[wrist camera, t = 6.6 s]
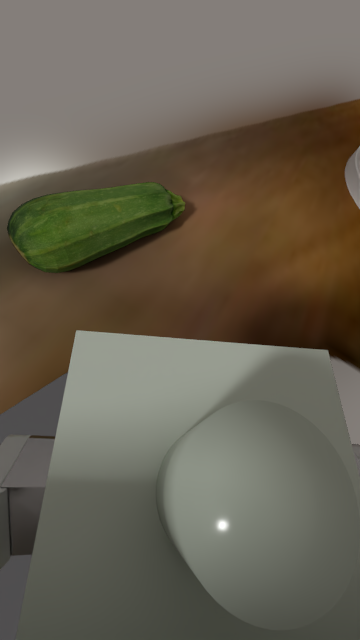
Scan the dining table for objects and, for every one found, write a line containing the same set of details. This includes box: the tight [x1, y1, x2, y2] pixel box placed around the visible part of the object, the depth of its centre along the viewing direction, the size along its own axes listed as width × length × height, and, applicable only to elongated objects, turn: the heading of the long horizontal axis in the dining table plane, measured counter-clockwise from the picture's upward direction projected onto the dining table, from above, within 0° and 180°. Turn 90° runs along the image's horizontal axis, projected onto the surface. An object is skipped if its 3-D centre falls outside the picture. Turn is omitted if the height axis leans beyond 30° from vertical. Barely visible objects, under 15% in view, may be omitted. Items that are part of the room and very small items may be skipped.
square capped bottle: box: [15, 330, 360, 640], centre depth 8 cm, size 6×6×10 cm
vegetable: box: [7, 182, 185, 273], centre depth 32 cm, size 7×7×20 cm
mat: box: [0, 372, 68, 640], centre depth 21 cm, size 14×16×1 cm
